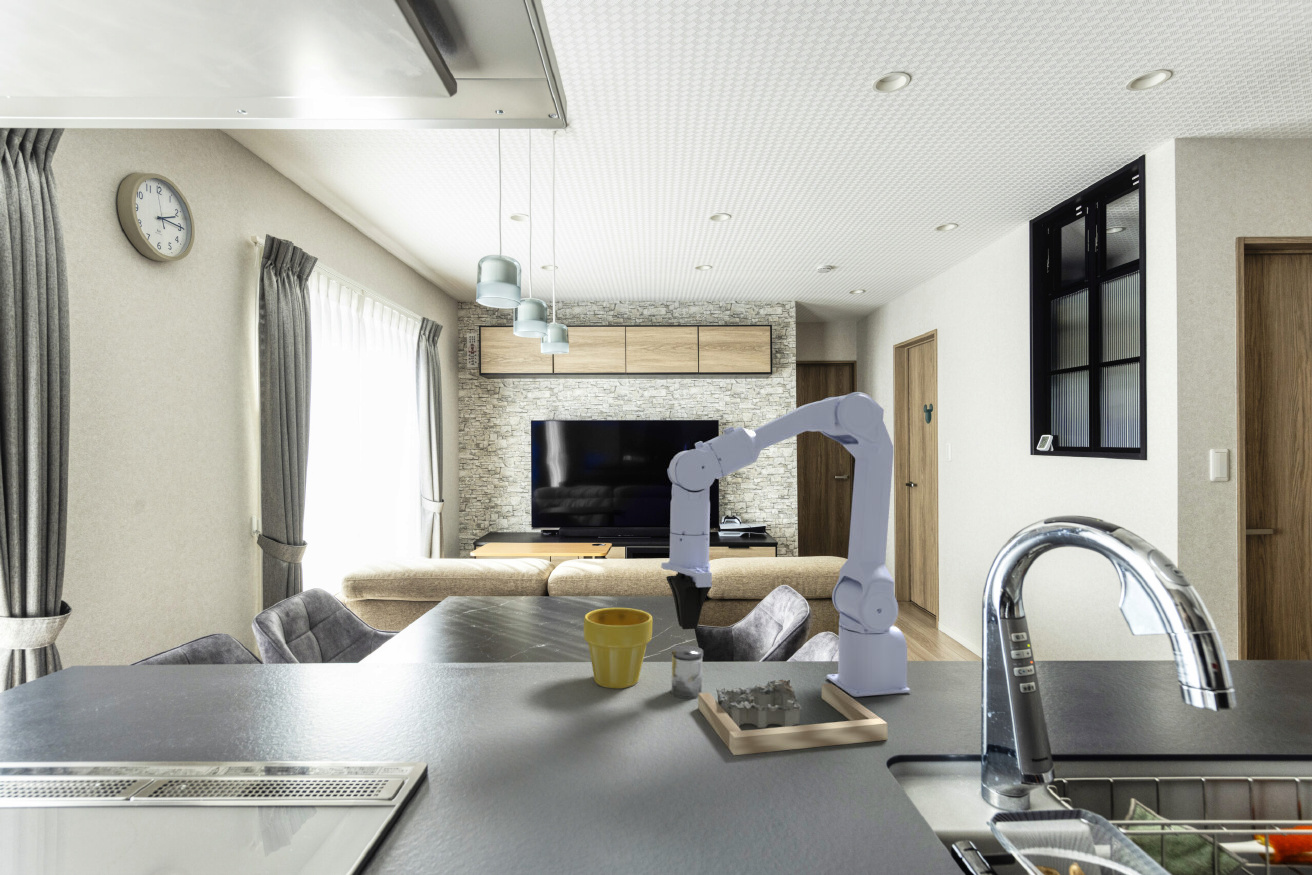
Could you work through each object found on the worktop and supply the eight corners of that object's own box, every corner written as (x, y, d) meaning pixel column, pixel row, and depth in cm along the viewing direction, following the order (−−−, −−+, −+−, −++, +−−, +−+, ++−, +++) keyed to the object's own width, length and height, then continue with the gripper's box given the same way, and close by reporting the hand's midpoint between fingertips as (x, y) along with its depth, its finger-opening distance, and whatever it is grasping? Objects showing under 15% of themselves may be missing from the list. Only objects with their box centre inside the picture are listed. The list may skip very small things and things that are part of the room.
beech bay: (831, 697, 90) (831, 683, 90) (887, 739, 77) (887, 723, 77) (698, 707, 85) (698, 693, 85) (733, 755, 72) (734, 737, 72)
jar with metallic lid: (696, 685, 93) (697, 644, 93) (706, 697, 89) (707, 654, 89) (667, 688, 92) (667, 646, 92) (675, 700, 88) (676, 656, 88)
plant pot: (650, 694, 89) (651, 625, 90) (577, 692, 90) (579, 624, 90) (652, 669, 100) (653, 607, 100) (587, 667, 100) (588, 606, 100)
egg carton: (793, 708, 86) (793, 678, 87) (803, 732, 79) (803, 699, 79) (715, 705, 87) (716, 675, 87) (718, 729, 79) (719, 696, 80)
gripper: (651, 526, 97) (649, 615, 97) (676, 540, 83) (674, 643, 83) (694, 526, 99) (693, 613, 98) (727, 539, 85) (725, 640, 84)
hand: (687, 627), depth 91 cm, fingers closed
